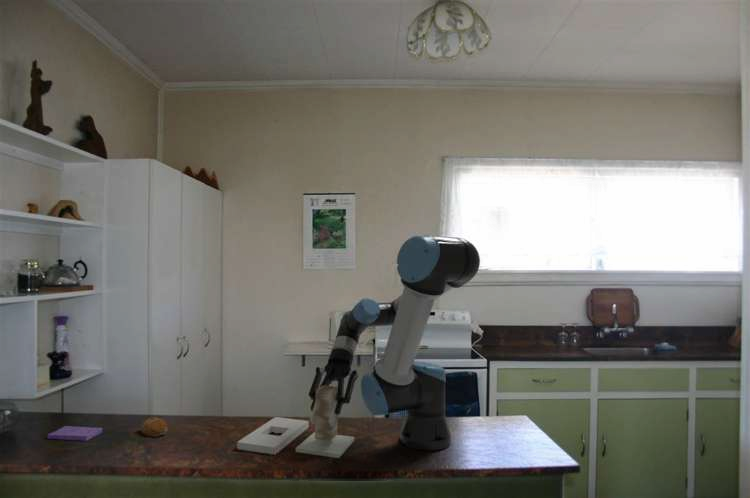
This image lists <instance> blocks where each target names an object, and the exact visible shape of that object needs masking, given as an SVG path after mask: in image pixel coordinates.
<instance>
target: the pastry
mask: <svg viewBox="0 0 750 498" xmlns="http://www.w3.org/2000/svg"><path fill="white" fill-rule="evenodd" d="M140 427H141V428H140V429H141V433H142V434H143V435H145V436H148V437H150V438H151V437H155V438H156V437H159V436H162V435H166V434H167V432H168V424H167V422H166V421H165V420H164V419H163V418H159V417H156V416H155V417H153V416H152V417H150V418H148V419H146V420H145V421H144V422H143V423H142V425H141V426H140Z"/></svg>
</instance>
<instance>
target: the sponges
mask: <svg viewBox="0 0 750 498" xmlns="http://www.w3.org/2000/svg"><path fill="white" fill-rule="evenodd" d="M102 432H103V427H88V426H87V427H85V426H71V425H70V426H69V425H65V426H63V427H61V428H59V429H58V430H56V431H53V432H51V433H49V434H47V439H48V440H49V439H51V440H54V439H55V440H65V441H66V440H67V441H84V442H86V441H88V440H90V439H92V438H94V437H96V436H98V435H99V434H101V433H102Z"/></svg>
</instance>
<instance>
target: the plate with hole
mask: <svg viewBox="0 0 750 498" xmlns="http://www.w3.org/2000/svg"><path fill="white" fill-rule="evenodd" d="M309 425H310V420H304V419H294V418H286V417H279V416H275V417H273V418H272V419H270V420H269V421H267V422H266V423H264V424H263V425H261V426H260V427H257V429H255V430H254V431H252V432H250V433H248V434H247V435H246V436H243V438H241V439H240V440H238V441H237V442H236V443H237V444H236V449H237V450H239V451H240V450H241V451H246V452H252V453H253V452H254V453H255V452H256V453H260V454H261V453H262V454H266V453H267V455H273V454H274V455H276V453H277V454H278V453H279V452H280V451H281V450H283V449H285V447H286V446H287V445H289V444H291V443H292V441H294V440H295V439H296V438H297V437H299V436H300V435H302V433H303V432H304V431H306V430H308V429H309V427H310V426H309ZM272 432H274V433H273V434H271V433H272ZM269 433H270V434H269ZM279 433H282V434H280V435H276V434H279ZM274 434H275V435H274ZM274 455H273V456H274Z"/></svg>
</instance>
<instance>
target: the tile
mask: <svg viewBox="0 0 750 498" xmlns="http://www.w3.org/2000/svg"><path fill="white" fill-rule="evenodd" d="M354 441H355V436H349V435H343V434H337V436H336V437H335V438H334V439H333V440H332V441H325V440H317V439H315V431H314V432H312V433H311V434H310V435H309V436H308V437H307V438H305V439H304V441H302V442H301V443H299V444H298V446H296V447H295V452H296V453H301V454H308V455H315V456H320V457H321V456H323V457H329V458H335V459H339V458H340V457H341V456H342V455H343V454H344V453H345V452H346V450H347V449H348V448H349V447H350V446H351V445H352V443H354Z"/></svg>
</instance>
